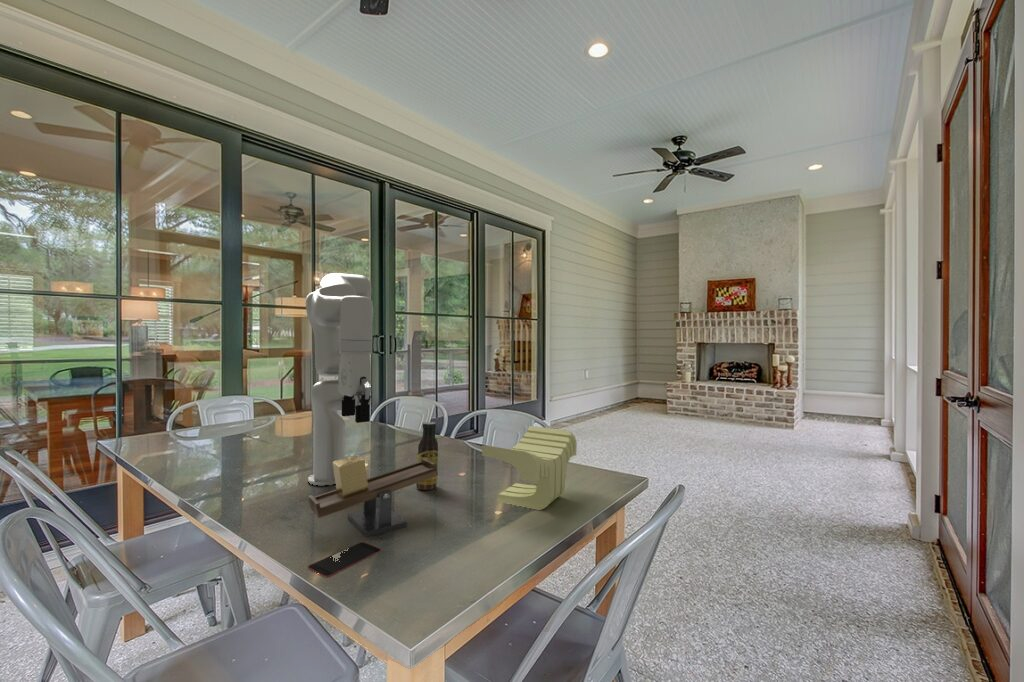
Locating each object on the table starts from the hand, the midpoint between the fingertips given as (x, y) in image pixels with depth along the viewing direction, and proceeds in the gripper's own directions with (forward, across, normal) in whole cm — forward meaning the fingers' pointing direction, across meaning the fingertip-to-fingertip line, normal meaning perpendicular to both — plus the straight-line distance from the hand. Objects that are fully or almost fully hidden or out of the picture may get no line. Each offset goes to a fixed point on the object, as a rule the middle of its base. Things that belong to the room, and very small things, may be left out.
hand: (355, 418), depth 111 cm
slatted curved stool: (+27, +10, +48) cm, 56 cm away
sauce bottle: (+27, -16, +28) cm, 42 cm away
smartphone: (+27, +14, -6) cm, 31 cm away
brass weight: (+18, 0, 0) cm, 18 cm away
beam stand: (+26, 0, +6) cm, 27 cm away
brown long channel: (+18, 0, +6) cm, 19 cm away
